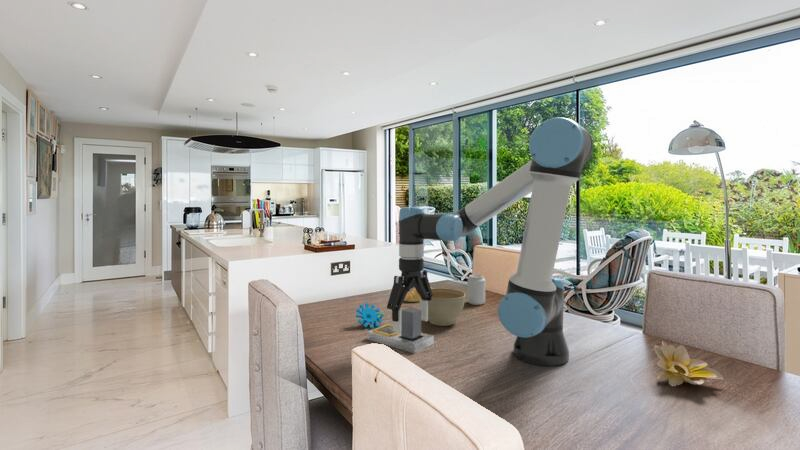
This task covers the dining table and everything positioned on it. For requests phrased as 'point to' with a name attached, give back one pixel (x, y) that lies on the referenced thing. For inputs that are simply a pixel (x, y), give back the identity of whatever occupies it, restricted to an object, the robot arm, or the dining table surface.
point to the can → (476, 289)
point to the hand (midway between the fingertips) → (411, 325)
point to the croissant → (413, 296)
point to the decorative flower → (683, 366)
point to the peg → (411, 324)
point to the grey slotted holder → (399, 339)
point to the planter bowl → (445, 306)
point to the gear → (369, 315)
